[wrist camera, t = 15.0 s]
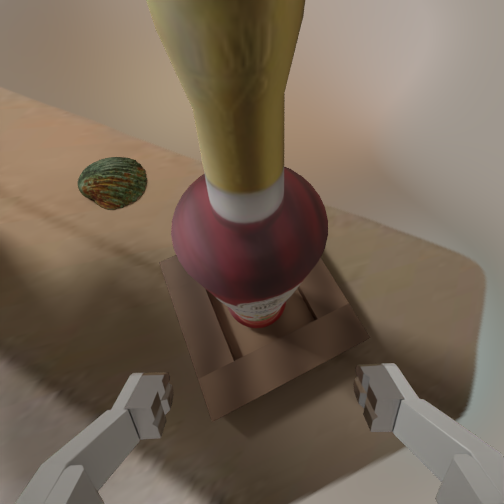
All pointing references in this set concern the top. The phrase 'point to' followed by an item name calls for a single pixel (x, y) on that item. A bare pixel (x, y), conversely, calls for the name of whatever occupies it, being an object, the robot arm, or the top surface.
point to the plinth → (260, 337)
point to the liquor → (241, 154)
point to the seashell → (113, 182)
